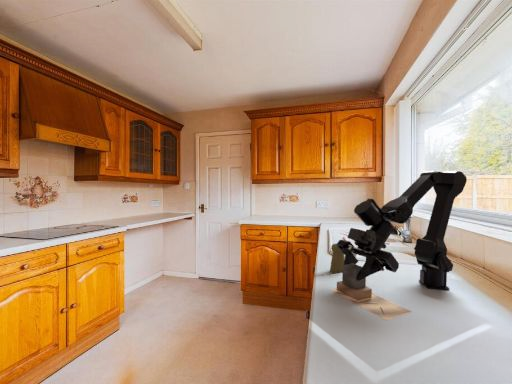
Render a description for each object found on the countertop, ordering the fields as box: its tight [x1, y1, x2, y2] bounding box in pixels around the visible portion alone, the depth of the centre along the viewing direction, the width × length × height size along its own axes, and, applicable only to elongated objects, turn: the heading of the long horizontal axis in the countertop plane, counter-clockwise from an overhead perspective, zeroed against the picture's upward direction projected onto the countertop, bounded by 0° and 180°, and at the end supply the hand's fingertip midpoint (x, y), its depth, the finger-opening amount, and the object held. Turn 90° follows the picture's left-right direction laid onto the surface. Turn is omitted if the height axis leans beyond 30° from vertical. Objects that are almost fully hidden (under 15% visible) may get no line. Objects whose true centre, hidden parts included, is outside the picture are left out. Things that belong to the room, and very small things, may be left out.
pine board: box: [330, 288, 413, 321], centre depth 70 cm, size 19×10×1 cm, turn 26°
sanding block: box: [336, 263, 373, 302], centre depth 73 cm, size 8×6×8 cm
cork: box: [329, 242, 345, 275], centre depth 96 cm, size 6×6×11 cm
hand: (349, 276), depth 73 cm, fingers closed on sanding block, 5 cm apart
